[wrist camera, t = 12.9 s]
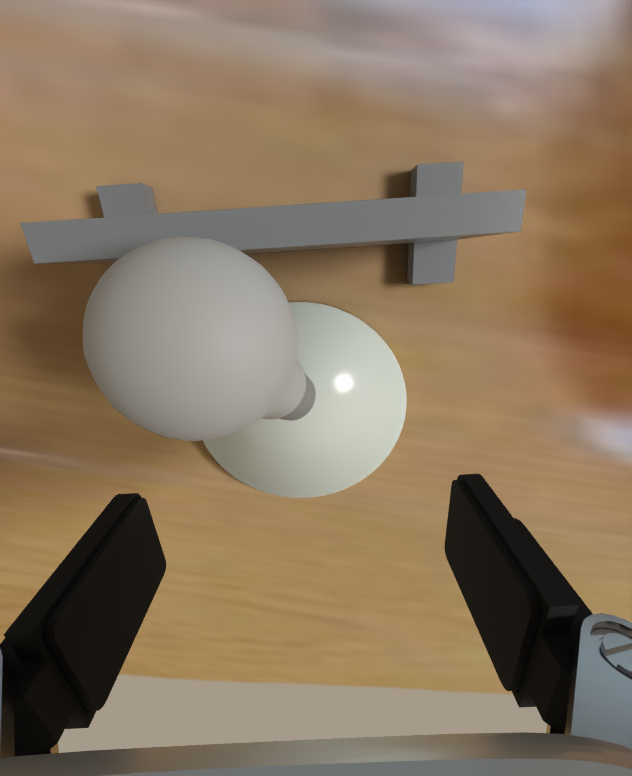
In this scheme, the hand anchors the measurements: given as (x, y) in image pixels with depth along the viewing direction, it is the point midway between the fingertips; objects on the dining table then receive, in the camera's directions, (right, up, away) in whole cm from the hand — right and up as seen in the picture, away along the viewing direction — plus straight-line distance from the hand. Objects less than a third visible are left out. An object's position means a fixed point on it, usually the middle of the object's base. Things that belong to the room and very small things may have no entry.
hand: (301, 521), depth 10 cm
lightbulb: (0, +3, +8) cm, 8 cm away
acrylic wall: (-1, +11, +6) cm, 13 cm away
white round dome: (0, +3, +9) cm, 10 cm away
